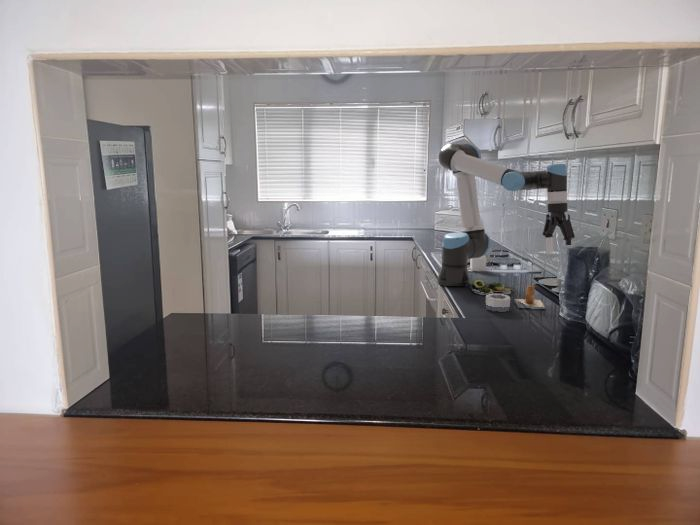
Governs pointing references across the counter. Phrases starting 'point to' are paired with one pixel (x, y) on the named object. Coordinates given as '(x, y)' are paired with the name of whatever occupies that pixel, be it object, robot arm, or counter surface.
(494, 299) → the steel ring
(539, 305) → the keeper
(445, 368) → the counter surface
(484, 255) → the lumpy-topped squat cylinder
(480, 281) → the salad plate
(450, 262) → the robot arm
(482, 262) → the medicine bottle
